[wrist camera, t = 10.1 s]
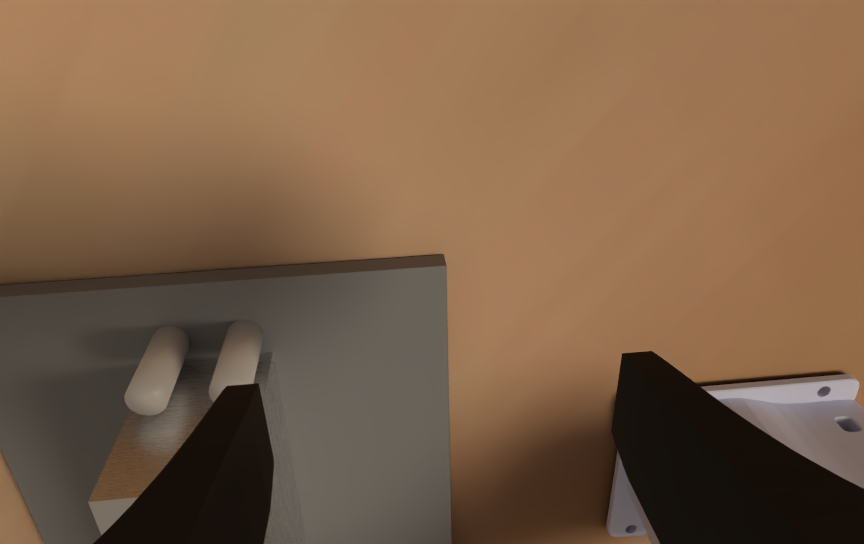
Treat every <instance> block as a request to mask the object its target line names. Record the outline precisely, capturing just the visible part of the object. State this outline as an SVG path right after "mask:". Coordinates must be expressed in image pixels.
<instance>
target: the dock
mask: <svg viewBox="0 0 864 544" xmlns="http://www.w3.org/2000/svg"><path fill="white" fill-rule="evenodd" d="M267 352H273V356H274V361H275V367H276V372H277V378H278V384H279V389H280V395H281V400H282V406H283V412H284V417H285V423H286V428H287V434H288V440H289V445H290V451H291V456H292V462H293V468H294V473H295V479H296V484H297V490H298V496H299V501H300V507H301V512H302V518H303V524H304V529H305V535H306V540H307V544H452V537H451V484H450V431H449V378H448V325H447V272H446V262H445V258H444V254H443V255H429V256H414V257H400V258H385V259H371V260H356V261H342V262H327V263H313V264H299V265H284V266H270V267H255V268H241V269H226V270H212V271H197V272H183V273H168V274H154V275H140V276H125V277H111V278H96V279H82V280H67V281H53V282H38V283H24V284H9V285H0V449H1V451H2V453H3V455H4V458H5V460H6V462H7V464H8V466H9V468H10V470H11V473H12V475H13V477H14V479H15V481H16V483H17V485H18V487H19V490H20V492H21V494H22V496H23V498H24V500H25V502H26V504H27V507H28V509H29V511H30V513H31V515H32V517H33V519H34V521H35V524H36V526H37V528H38V530H39V532H40V534H41V536H42V539H43V541H44V543H45V544H93V543H94V542H95V541H96V540H97V539H98V538H99V537H100V536H101V533H100V531H99V528H98V526H97V523H96V521H95V518H94V516H93V513H92V511H91V508H90V506H89V503H88V501H89V499H90V497H91V494H92V492H93V490H94V488H95V486H96V483H97V481H98V479H99V477H100V475H101V473H102V470H103V468H104V466H105V464H106V462H107V460H108V457H109V455H110V453H111V451H112V449H113V446H114V444H115V442H116V440H117V438H118V436H119V433H120V431H121V429H122V427H123V425H124V422H125V420H126V418H127V416H128V414H129V412H130V409H131V410H132V411H134V412H136V413H138V414H141V415H147V416H150V415H156V414H159V413H161V412H162V411H163V410H164V409H165V408H166V406H167V404H168V401H169V399H170V396H171V394H172V391H173V389H174V386H175V383H176V381H177V378H178V376H179V373H180V371H181V368H182V365H183V363H184V360H185V359H190V358H203V357H216V356H219V358H218V362H217V365H216V368H215V371H214V374H213V377H212V381H211V384H210V387H209V396H210V398H211V400H212V401H213V402H214V401H215V400H216V399H217V397H218V396H219V395H220V393H221V392H222V391H223V389H224V388H225V387H226V386H231V385H243V384H253V383H254V378H255V374H256V369H257V365H258V360H259V356H260V353H267Z"/></svg>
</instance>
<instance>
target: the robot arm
mask: <svg viewBox="0 0 864 544" xmlns="http://www.w3.org/2000/svg"><path fill="white" fill-rule="evenodd" d="M819 389H820V390H819ZM858 389H859V382H858V380H856V379H855V378H854V377H853V376H852V375H850V374H842V375H830V376H818V377H807V378H795V379H783V380H772V381H760V382H749V383H737V384H725V385H714V386H702V387H700V386H699V385H697V384H696V383H695V382H693V381H692V380H691V379H689V378H688V377H687V376H685V375H684V374H683V373H681V372H680V371H679V370H677V369H676V368H675V367H673V366H672V365H671V364H669V363H668V362H666V361H665V360H664V359H662V358H661V357H660V356H658V355H657V354H655V353H654V352H652V351H648V352H635V353H623V354H622V359H621V366H620V373H619V380H618V387H617V394H616V401H615V409H614V416H613V423H612V430H611V431H612V434H613V437H614V441H615V444H616V447H617V450H618V451H617V457H616V464H615V471H614V477H613V484H612V491H611V498H610V504H609V511H608V518H607V524H606V526H607V530H608V532H609V534H610V535H611V536H613V537H627V536H637V535H646V534H647V535H648V537H649V539H650V541H651V543H652V544H864V409H863V408H862V407H861V406H860V405H859V404H858V403H857V402H856V401H855V397H856V394H857V392H858ZM273 472H274V457H273V452H272V447H271V442H270V437H269V432H268V427H267V422H266V417H265V412H264V407H263V402H262V397H261V392H260V386H259V383H255V384H243V385H231V386H226V387H225V388H224V389H223V391H222V392H221V393H220V395H219V396H218V397H217V399H216V400H215V401H214V403H213V404H212V406H211V407H210V408H209V410H208V411H207V413H206V414H205V415H204V417H203V418H202V419H201V421H200V422H199V423H198V425H197V426H196V427H195V429H194V430H193V431H192V433H191V434H190V435H189V437H188V438H187V439H186V441H185V442H184V443H183V444H182V446H181V447H180V448H179V449H178V451H177V452H176V453H175V454H174V456H173V457H172V458H171V460H170V461H169V462H168V463H167V465H166V466H165V467H164V468H163V469H162V471H161V472H160V473H159V474H158V475H157V476H156V477H155V479H154V480H153V481H152V482H151V483H150V484H149V485H148V487H147V488H146V489H145V490H144V491H143V492H142V493H141V495H140V496H139V497H138V498H137V499H136V500H135V501H134V503H133V504H132V505H131V506H130V507H129V508H128V509H127V510H126V511H125V512H124V513H123V514H122V515H121V516H120V517H119V518H118V519H117V520H116V521H115V523H114V524H113V525H112V526H111V527H110V528H109V529H108V530H107V531H106V532H104V533H103V534H102V535H101V536H100V537H99V538H98V539H97V540H96V541H95V542H94V543H93V544H264V540H265V535H266V530H267V525H268V520H269V515H270V509H271V497H272V486H273Z"/></svg>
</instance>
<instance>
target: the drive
mask: <svg viewBox="0 0 864 544" xmlns="http://www.w3.org/2000/svg"><path fill="white" fill-rule="evenodd" d="M218 358H219V356H216V357H203V358H190V359H185V360H184V363H183V365H182V368H181V371H180V373H179V376H178V378H177V381H176V383H175V386H174V389H173V391H172V394H171V396H170V399H169V401H168V404H167V406H166V408H165V409H164V410H163V411H162V412H161V413H159V414H156V415H150V416H147V415H141V414H138V413H136V412H134V411H132V410H131V409H130V412H129V414H128V416H127V418H126V420H125V422H124V425H123V427H122V429H121V431H120V433H119V436H118V438H117V440H116V442H115V444H114V446H113V449H112V451H111V453H110V455H109V457H108V460H107V462H106V464H105V466H104V468H103V470H102V473H101V475H100V477H99V479H98V481H97V483H96V486H95V488H94V490H93V492H92V494H91V497H90V499H89V501H88V503H89V506H90V508H91V511H92V513H93V516H94V518H95V521H96V523H97V526H98V528H99V531H100V533H101V535H102V534H103V533H104V532H106V531H107V530H108V529H109V528H110V527H111V526H112V525H113V524H114V523H115V521H116V520H117V519H118V518H119V517H120V516H121V515H122V514H123V513H124V512H125V511H126V510H127V509H128V508H129V507H130V506H131V505H132V504H133V503H134V501H135V500H136V499H137V498H138V497H139V496H140V495H141V493H142V492H143V491H144V490H145V489H146V488H147V487H148V485H149V484H150V483H151V482H152V481H153V480H154V479H155V477H156V476H157V475H158V474H159V473H160V472H161V471H162V469H163V468H164V467H165V466H166V465H167V463H168V462H169V461H170V460H171V458H172V457H173V456H174V454H175V453H176V452H177V451H178V449H179V448H180V447H181V446H182V444H183V443H184V442H185V441H186V439H187V438H188V437H189V435H190V434H191V433H192V431H193V430H194V429H195V427H196V426H197V425H198V423H199V422H200V421H201V419H202V418H203V417H204V415H205V414H206V413H207V411H208V410H209V408H210V407H211V406H212V404H213V403H214V402H213V401H212V400H211V398H210V396H209V387H210V384H211V381H212V377H213V374H214V371H215V368H216V365H217V362H218ZM255 383H259V386H260V392H261V397H262V402H263V407H264V412H265V417H266V422H267V427H268V432H269V437H270V442H271V447H272V452H273V457H274V472H273V486H272V497H271V509H270V515H269V520H268V525H267V530H266V535H265V540H264V544H307V540H306V535H305V529H304V524H303V518H302V512H301V507H300V501H299V496H298V490H297V484H296V479H295V473H294V468H293V462H292V456H291V451H290V445H289V440H288V434H287V428H286V423H285V417H284V412H283V406H282V400H281V395H280V389H279V384H278V378H277V372H276V367H275V361H274V356H273V352H267V353H260V356H259V360H258V365H257V369H256V374H255V378H254V383H253V384H255Z"/></svg>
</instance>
